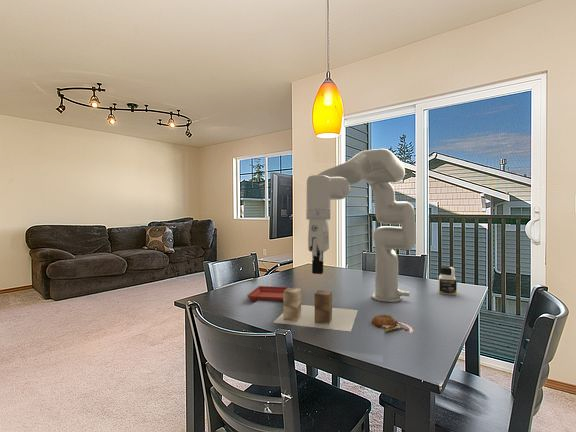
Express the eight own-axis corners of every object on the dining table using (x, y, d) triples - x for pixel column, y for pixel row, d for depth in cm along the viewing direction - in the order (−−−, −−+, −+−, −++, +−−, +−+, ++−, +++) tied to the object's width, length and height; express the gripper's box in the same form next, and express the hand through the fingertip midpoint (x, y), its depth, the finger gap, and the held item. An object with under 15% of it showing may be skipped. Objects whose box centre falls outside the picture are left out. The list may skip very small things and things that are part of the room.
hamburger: (389, 340, 100) (389, 321, 100) (360, 325, 112) (360, 308, 112) (422, 332, 106) (422, 314, 105) (391, 319, 118) (391, 302, 118)
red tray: (258, 292, 155) (258, 285, 155) (296, 294, 152) (296, 287, 152) (246, 303, 138) (246, 295, 137) (288, 305, 134) (288, 297, 134)
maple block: (301, 316, 116) (301, 288, 116) (297, 321, 112) (297, 292, 111) (287, 315, 118) (287, 287, 117) (283, 319, 113) (283, 291, 113)
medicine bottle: (439, 293, 151) (439, 267, 151) (438, 289, 158) (438, 265, 158) (456, 295, 149) (456, 268, 148) (455, 291, 155) (455, 266, 155)
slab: (357, 313, 124) (357, 310, 124) (350, 335, 103) (350, 331, 103) (292, 306, 131) (292, 303, 131) (273, 326, 110) (273, 322, 110)
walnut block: (331, 319, 113) (332, 291, 113) (329, 324, 108) (329, 294, 108) (317, 318, 114) (317, 290, 114) (314, 323, 110) (314, 293, 109)
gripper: (325, 215, 94) (324, 279, 95) (334, 214, 108) (333, 270, 109) (300, 215, 97) (299, 277, 97) (312, 214, 111) (311, 268, 111)
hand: (317, 273), depth 103 cm, fingers closed
